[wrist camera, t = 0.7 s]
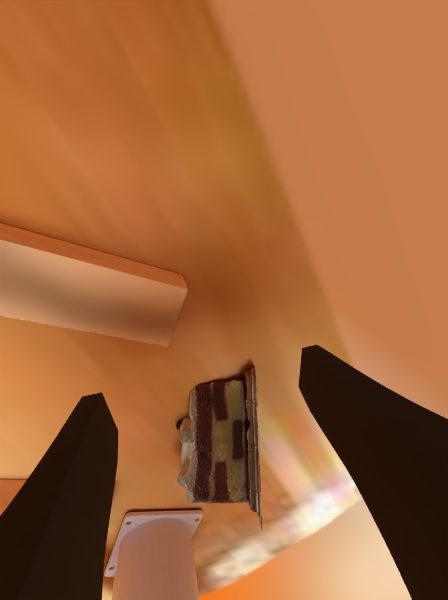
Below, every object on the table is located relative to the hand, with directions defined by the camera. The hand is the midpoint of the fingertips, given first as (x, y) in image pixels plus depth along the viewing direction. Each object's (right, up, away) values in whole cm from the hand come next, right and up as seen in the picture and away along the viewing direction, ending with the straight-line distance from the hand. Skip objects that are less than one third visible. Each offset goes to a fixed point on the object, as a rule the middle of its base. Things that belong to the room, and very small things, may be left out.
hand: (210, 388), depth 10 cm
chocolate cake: (0, -8, +15) cm, 17 cm away
